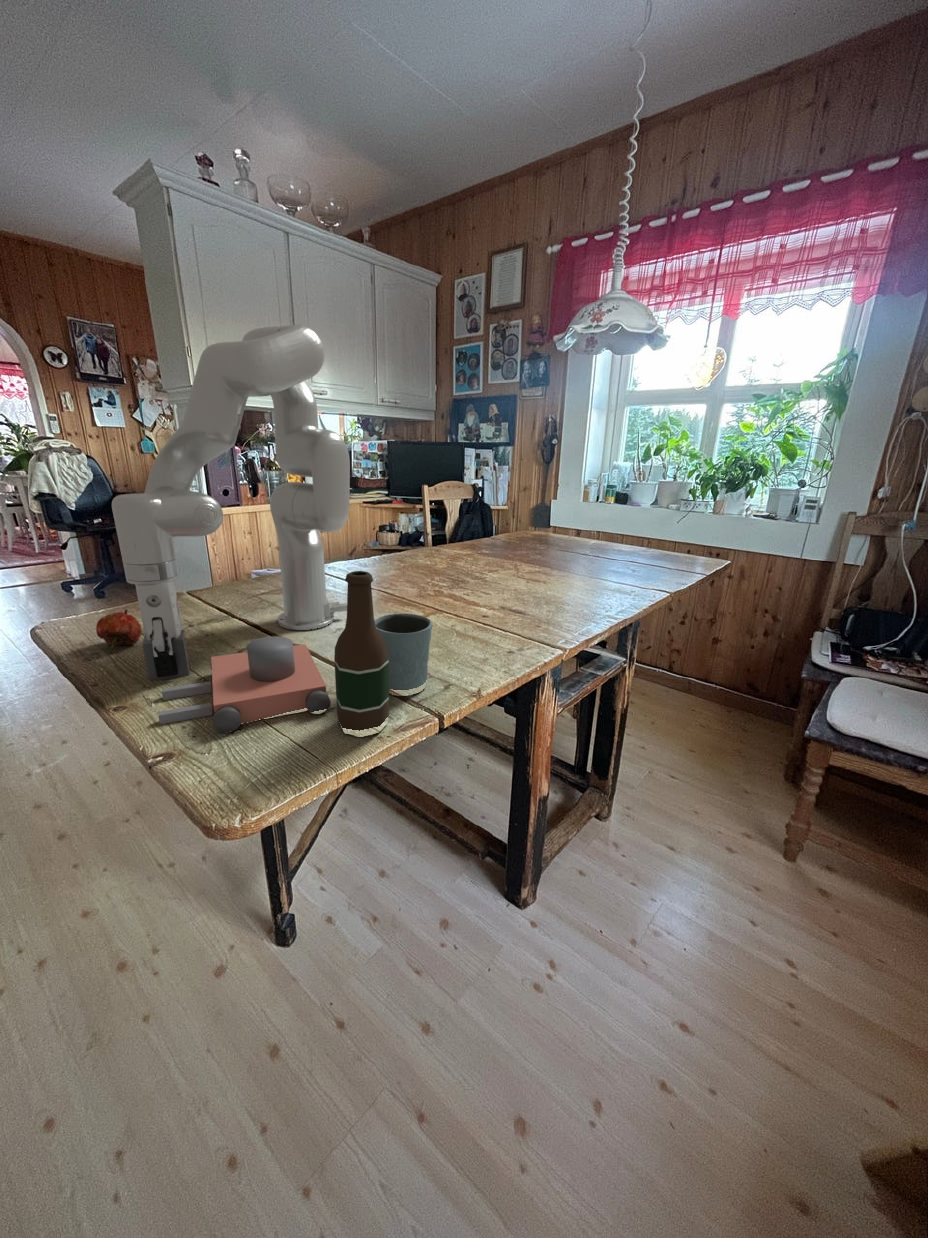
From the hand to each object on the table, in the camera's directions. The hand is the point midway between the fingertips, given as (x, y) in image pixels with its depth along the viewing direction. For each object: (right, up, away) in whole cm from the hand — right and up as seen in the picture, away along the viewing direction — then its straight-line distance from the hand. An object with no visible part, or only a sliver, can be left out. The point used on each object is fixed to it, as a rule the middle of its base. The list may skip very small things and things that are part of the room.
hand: (169, 665), depth 87 cm
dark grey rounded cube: (0, -1, 0) cm, 1 cm away
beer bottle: (+38, -8, -12) cm, 40 cm away
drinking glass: (+42, -4, 0) cm, 42 cm away
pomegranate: (-15, +3, +10) cm, 18 cm away
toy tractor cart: (+16, -4, -6) cm, 18 cm away
